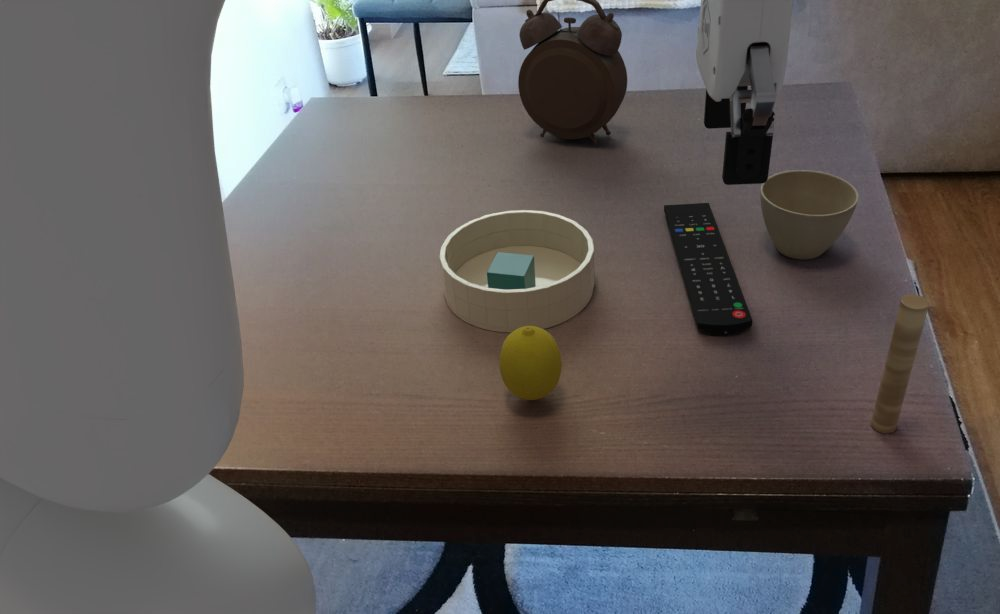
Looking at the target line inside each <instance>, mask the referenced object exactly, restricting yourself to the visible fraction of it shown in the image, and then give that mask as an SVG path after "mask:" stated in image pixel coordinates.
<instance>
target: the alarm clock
mask: <svg viewBox="0 0 1000 614" xmlns="http://www.w3.org/2000/svg"><path fill="white" fill-rule="evenodd" d="M577 1H578V2H583V3H585V4H587V5H591V6H592V7H593V9H594V10H595V11H596V13H597V14H592V15H590V16H588V17H587V18H585V20H584V21H583V22H582V23H581V25H580V26H572V24H576V22H577V18H575V17H568V16H566V17H564V18H563V23H565V24H567V25H568V27H564V28H563V25H562V24H561V22H560V21H559V20H558V18H556V16H554V15H553V14H551V13H549V12H543V11H544V10H545V8H546V7H547V5H548V3H549V2H554V0H542V2H541V3H540V6H539V7H538V9H537V11H536V13H535V14H534V12H533V10H531V9H527V10H526V14H525V15H526V17H527V18H526V19H525V20H524V23H523V24H522V25H521V27H520V29H519V40H520V43H521V47H522V48H523V50H524V51H525V50H528V49H530V48H532V47H533V48H532V49H531V50H530V51H529V53H527V55H526V57H524V59H523V61H522V63H521V66H520V68H519V73H518V80H517V81H518V82H517V83H518V84H517V85H518V86H517V87H518V93H519V97H520V101H521V104H522V106H523V108H524V110H525V111H526V113H527V114H528V116H529V117H530V119H531V120H532V121H533V122H534V123H535V125H537V126H538V127H539V128H541V129H542V132H541V133H540V135H539V136H540V138H545V134H546V133H549V134H551V135H552V136H555V137H557V138H561V139H567V140H578V139H583V138H588V137H590V139H591V140H592V144H593V145H596V146H597V145H598V142H599V141H598V140H597V139H596V135H595V134H596V133H598V131H600V130H601V129H603V131H605V135H606V136H610V135H612V133H611V130H609V128H608V123H610V121H611V120H613V118H614V117H615V115H616V114H617V112H618V110H619V109H620V107H621V105H622V103H623V101H624V99H625V97H626V93H627V89H628V72H627V67H626V64H625V61H624V59H623V57H622V55H621V52H620V51H619V49H620V47H621V43H622V37H623V33H622V30H621V27H620V26H619V24H618V23H617V21H615V20H614V17H615V15H614V13H613V12H608V14H607V15H606V13H605V11H604V9H603V7H602V6H601V4H600V2H599V1H598V0H577Z"/></svg>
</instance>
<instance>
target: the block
mask: <svg viewBox="0 0 1000 614" xmlns="http://www.w3.org/2000/svg"><path fill="white" fill-rule="evenodd" d="M487 280H488V288H496V289H505V290H508V289H527V288H532V287H536V284H535V266H534V255H524V254H513V253H503V252H497V254H496V256H495V258H494V260H493V262H492V264H491V265H490V267H489V269H488V271H487Z"/></svg>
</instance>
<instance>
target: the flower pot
mask: <svg viewBox="0 0 1000 614" xmlns="http://www.w3.org/2000/svg"><path fill="white" fill-rule="evenodd" d="M759 189H760V190H759V197H760V208H761V213H762V217H763V222H764V225H765V228H766V231H767V234H768V235H769V238H770V240H771V241H772V243H773V245H774V246H775V248H776V250H777V251H778V252H779V253H780V254H781V255H783V256H785V257H787V258H791V259H795V260H802V261H803V260H804V261H805V260H813V259H815V258H818V257H820V256H821V255H822V254H824V253H825V252H826V251H827V250H828V249H829V248H830V247H831V246H832V245H833V244H834V243H835V242H836V241H837V240H838V238H839V237H840V236H841V235H842V233H843V232H844V230H845V228H847V226H848V224H849V222H850V221H851V218H852V217H853V215H854V212H855V210H856V207H857V205H858V202H859V198H860V196H859V195H860V194H859V192H858V190H857V189H856V187H855V186H854V185H853V184H852V183H850V182H849V181H848V180H846V179H844V178H842V177H840V176H837V175H835V174H831V173H828V172H824V171H817V170H811V169H791V170H786V171H785V170H784V171H780V172H777V173H774V174H771V175H770V176H768V180H767V181H766V182H765V183H762V184H760V188H759Z"/></svg>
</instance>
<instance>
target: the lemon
mask: <svg viewBox="0 0 1000 614" xmlns="http://www.w3.org/2000/svg"><path fill="white" fill-rule="evenodd" d="M498 366H499V371H500V376H501V379H502V382H503V384H504V385H505V387H506V388H507V390H508V391H510V393H511V394H512V395H514V396H515V397H518V398H519V399H523V400H526V401H536V400H537V401H538V400H540V399H543V398H544V397H546V396H548V395H549V394H550V393H552V392H553V391H554V390H555V388H556V387H557V385H558V384H559V381H560V379H561V374H562V366H563V365H562V356H561V352H560V348H559V345H558V344H557V342H556V340H555V338H554V336H552V334H551V333H550V332H548V331H547V330H545V329H542V328H539V327H536V326H524V327H521V328H518V329H516V330H514V331H513V332H512V333H509V334H508V335H507V337H506V338H505V339H504V341H503V342H502V346H501V348H500V354H499V365H498Z"/></svg>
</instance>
